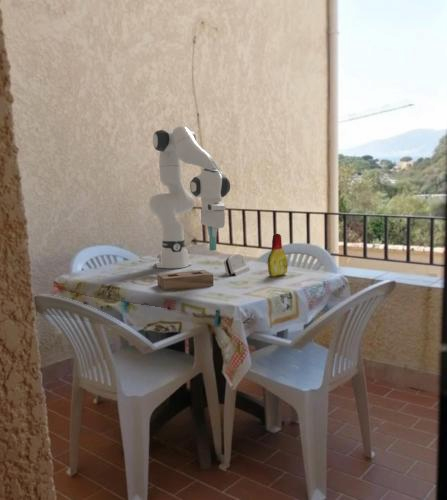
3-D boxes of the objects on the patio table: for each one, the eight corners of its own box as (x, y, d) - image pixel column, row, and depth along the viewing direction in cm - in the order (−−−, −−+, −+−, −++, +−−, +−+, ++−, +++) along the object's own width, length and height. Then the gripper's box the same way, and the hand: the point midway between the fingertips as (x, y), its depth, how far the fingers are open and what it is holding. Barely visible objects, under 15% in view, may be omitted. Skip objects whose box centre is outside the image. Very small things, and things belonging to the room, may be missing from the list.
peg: (208, 249, 231) (207, 223, 229) (214, 249, 232) (214, 222, 230) (210, 250, 228) (210, 223, 226) (217, 250, 229) (216, 223, 227)
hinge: (236, 276, 245) (229, 256, 246) (228, 278, 248) (221, 259, 248) (250, 269, 260) (243, 251, 260) (242, 272, 262) (235, 253, 263)
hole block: (157, 285, 229) (157, 274, 228) (204, 280, 237) (204, 269, 236) (164, 290, 218) (164, 279, 217) (213, 285, 226) (213, 274, 225)
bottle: (273, 278, 238) (273, 235, 236) (263, 276, 243) (263, 234, 240) (290, 274, 246) (290, 233, 243) (280, 272, 251) (280, 232, 248)
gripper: (197, 204, 235) (197, 234, 237) (213, 206, 217) (214, 239, 219) (210, 203, 238) (210, 233, 240) (227, 206, 219) (227, 238, 221)
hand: (212, 236), depth 229 cm, fingers closed on peg, 3 cm apart
